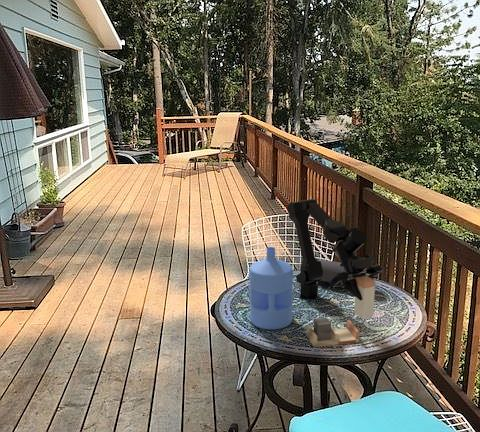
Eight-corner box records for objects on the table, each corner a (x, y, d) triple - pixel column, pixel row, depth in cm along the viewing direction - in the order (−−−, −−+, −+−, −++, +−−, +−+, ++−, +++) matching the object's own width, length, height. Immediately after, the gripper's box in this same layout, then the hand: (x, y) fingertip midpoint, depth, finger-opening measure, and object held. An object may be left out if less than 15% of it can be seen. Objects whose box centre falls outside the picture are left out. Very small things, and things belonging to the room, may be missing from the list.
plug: (354, 313, 170) (355, 278, 166) (364, 310, 172) (366, 275, 168) (362, 318, 166) (364, 283, 162) (373, 315, 168) (375, 280, 164)
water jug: (250, 310, 189) (248, 241, 181) (291, 310, 188) (291, 240, 180) (249, 331, 174) (248, 256, 166) (294, 330, 173) (294, 256, 165)
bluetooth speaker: (371, 287, 206) (372, 264, 204) (364, 295, 199) (365, 272, 196) (320, 276, 218) (321, 255, 215) (312, 284, 210) (312, 262, 208)
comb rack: (306, 335, 170) (306, 317, 168) (349, 330, 172) (349, 312, 170) (314, 347, 162) (314, 328, 160) (359, 342, 165) (359, 323, 163)
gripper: (336, 251, 162) (356, 295, 155) (380, 242, 170) (401, 283, 163) (322, 266, 171) (340, 307, 164) (364, 256, 179) (383, 296, 172)
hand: (367, 298), depth 166 cm, fingers closed on plug, 4 cm apart
